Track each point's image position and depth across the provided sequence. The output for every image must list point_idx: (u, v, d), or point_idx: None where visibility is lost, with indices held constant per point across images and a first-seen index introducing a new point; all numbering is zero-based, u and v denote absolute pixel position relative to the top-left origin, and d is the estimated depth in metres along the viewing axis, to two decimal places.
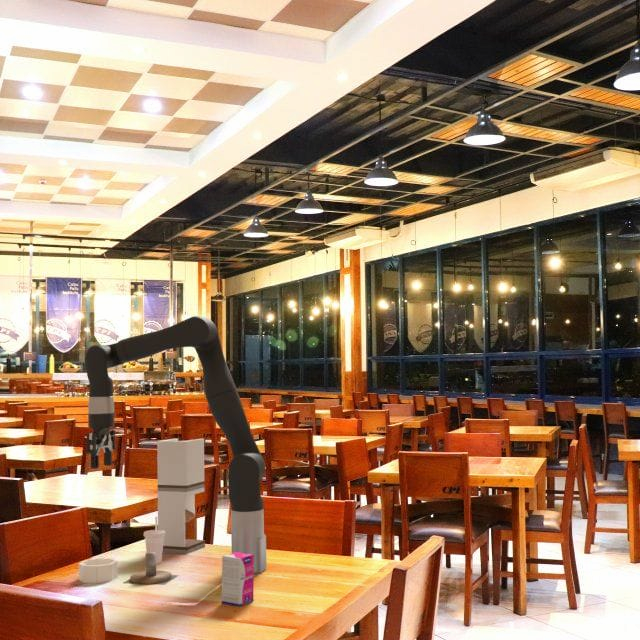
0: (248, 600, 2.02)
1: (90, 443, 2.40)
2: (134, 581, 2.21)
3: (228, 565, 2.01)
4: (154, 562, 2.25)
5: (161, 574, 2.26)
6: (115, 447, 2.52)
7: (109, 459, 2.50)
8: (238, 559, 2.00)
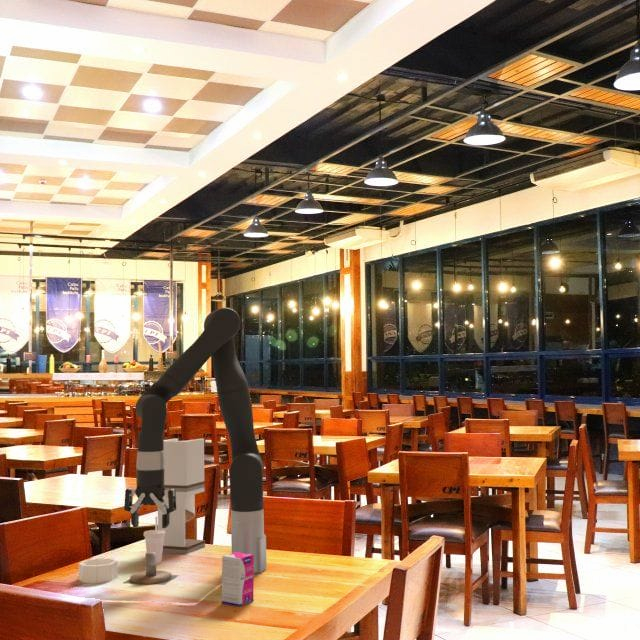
0: (248, 600, 2.02)
1: (174, 500, 2.25)
2: (134, 581, 2.21)
3: (228, 565, 2.01)
4: (154, 562, 2.25)
5: (161, 574, 2.26)
6: None
7: (138, 520, 2.28)
8: (238, 559, 2.00)
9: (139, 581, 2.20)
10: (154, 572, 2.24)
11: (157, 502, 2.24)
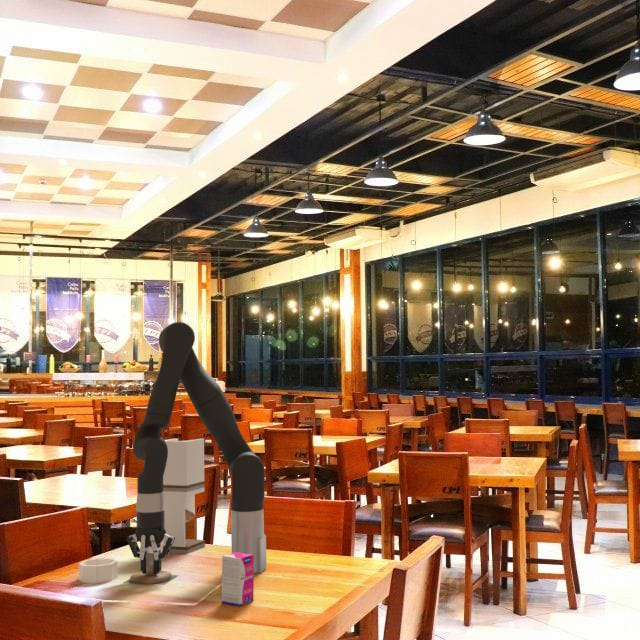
0: (248, 600, 2.02)
1: (169, 547, 2.25)
2: (134, 581, 2.21)
3: (228, 565, 2.01)
4: None
5: (161, 574, 2.26)
6: None
7: None
8: (238, 559, 2.00)
9: (139, 581, 2.20)
10: None
11: (154, 546, 2.24)
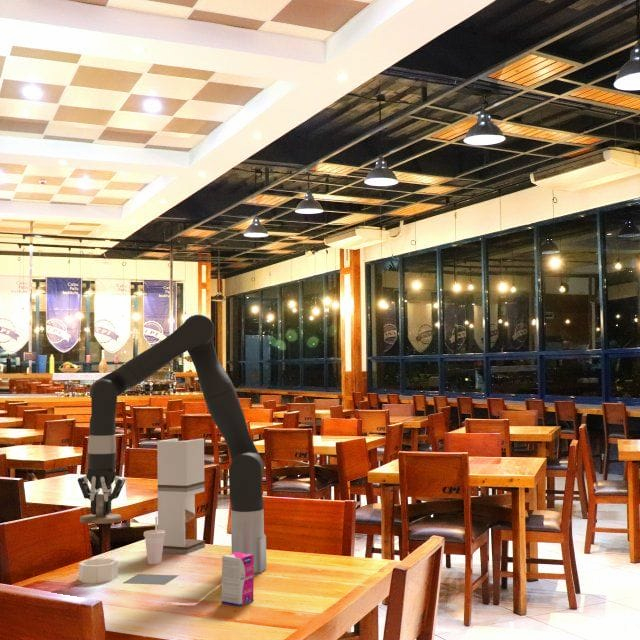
0: (248, 600, 2.02)
1: (119, 489, 2.27)
2: (83, 521, 2.24)
3: (228, 565, 2.01)
4: None
5: (111, 516, 2.29)
6: None
7: None
8: (238, 559, 2.00)
9: (88, 521, 2.23)
10: None
11: (104, 487, 2.27)
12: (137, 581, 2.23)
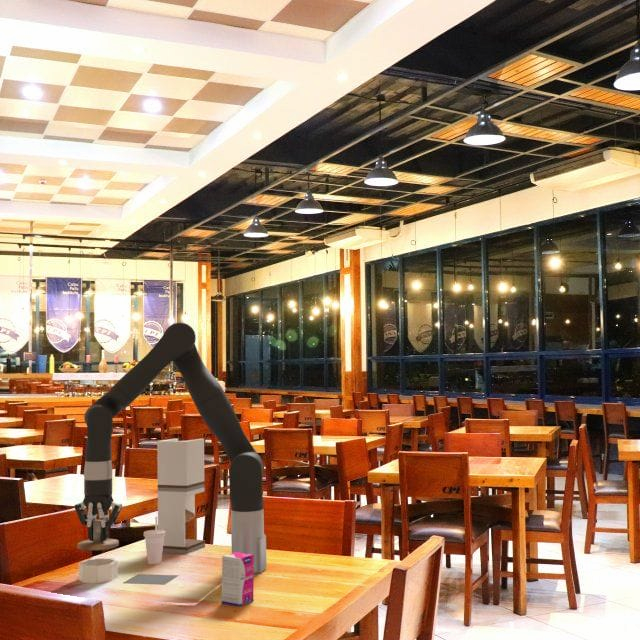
0: (248, 600, 2.02)
1: (116, 515, 2.27)
2: (80, 547, 2.24)
3: (228, 565, 2.01)
4: None
5: (108, 541, 2.29)
6: None
7: None
8: (238, 559, 2.00)
9: (85, 547, 2.23)
10: None
11: (101, 513, 2.26)
12: (137, 581, 2.23)
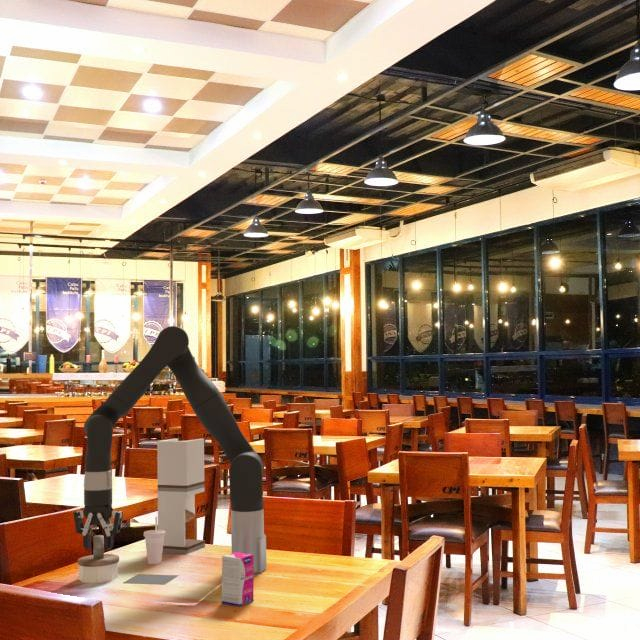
0: (248, 600, 2.02)
1: (119, 522, 2.27)
2: (81, 564, 2.23)
3: (228, 565, 2.01)
4: (101, 545, 2.27)
5: (109, 557, 2.28)
6: None
7: (90, 542, 2.29)
8: (238, 559, 2.00)
9: (86, 563, 2.22)
10: (101, 555, 2.27)
11: (103, 523, 2.26)
12: (137, 581, 2.23)
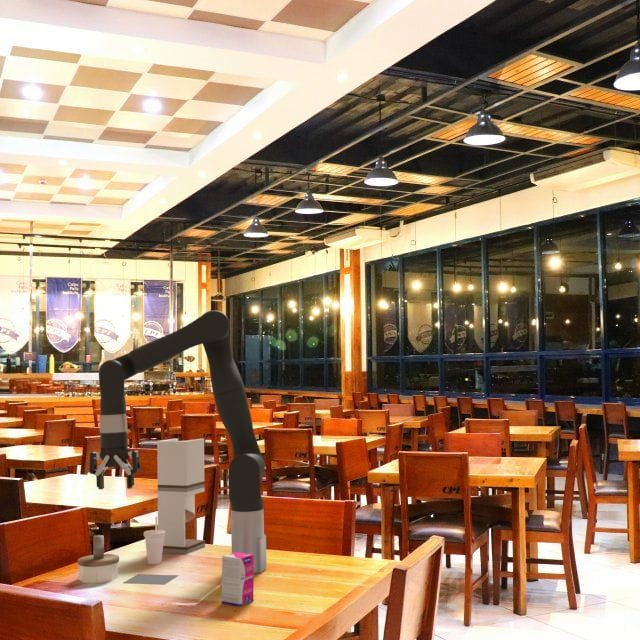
0: (248, 600, 2.02)
1: (138, 461, 2.32)
2: (81, 564, 2.23)
3: (228, 565, 2.01)
4: (101, 545, 2.27)
5: (109, 557, 2.28)
6: None
7: (103, 482, 2.34)
8: (238, 559, 2.00)
9: (86, 563, 2.22)
10: (101, 555, 2.27)
11: (122, 463, 2.31)
12: (137, 581, 2.23)
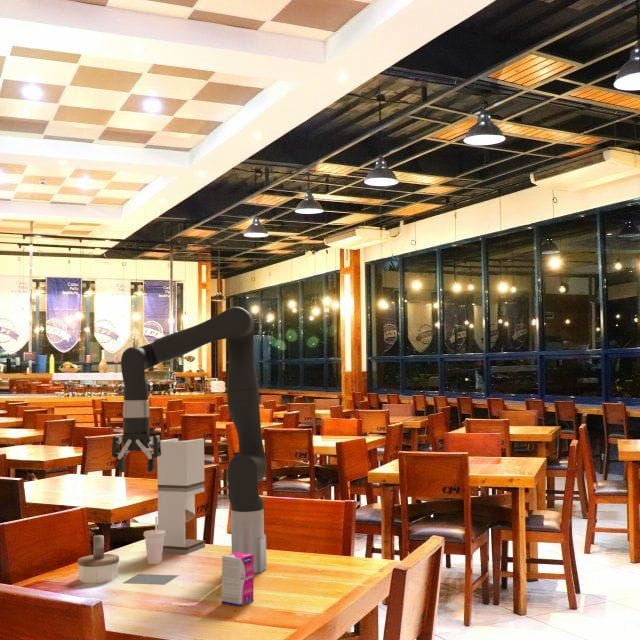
0: (248, 600, 2.02)
1: (159, 446, 2.39)
2: (81, 564, 2.23)
3: (228, 565, 2.01)
4: (101, 545, 2.27)
5: (109, 557, 2.28)
6: None
7: (125, 465, 2.41)
8: (238, 559, 2.00)
9: (86, 563, 2.22)
10: (101, 555, 2.27)
11: (143, 447, 2.38)
12: (137, 581, 2.23)
